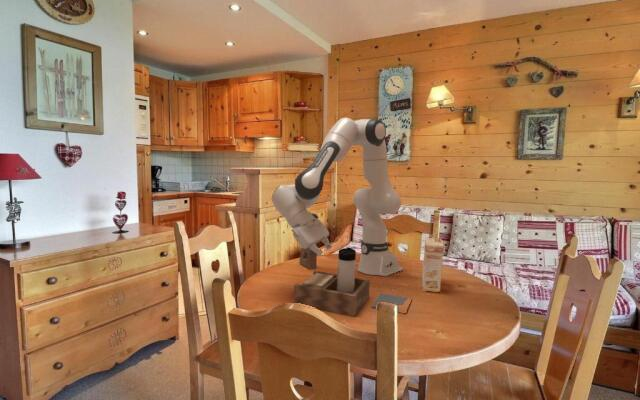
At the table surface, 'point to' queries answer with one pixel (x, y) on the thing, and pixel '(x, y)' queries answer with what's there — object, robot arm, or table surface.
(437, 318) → the table surface
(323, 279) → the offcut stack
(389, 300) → the rubber mat
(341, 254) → the travel mug
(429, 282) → the coffeecake box
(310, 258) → the brown wooden handled piece
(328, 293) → the walnut rack
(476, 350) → the table surface
